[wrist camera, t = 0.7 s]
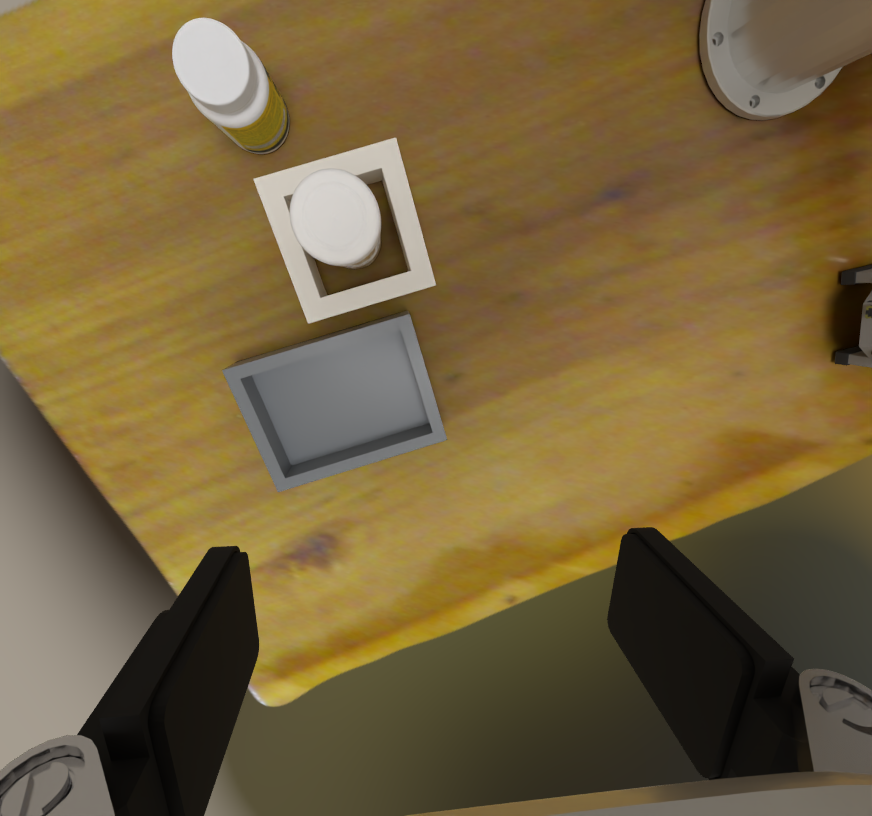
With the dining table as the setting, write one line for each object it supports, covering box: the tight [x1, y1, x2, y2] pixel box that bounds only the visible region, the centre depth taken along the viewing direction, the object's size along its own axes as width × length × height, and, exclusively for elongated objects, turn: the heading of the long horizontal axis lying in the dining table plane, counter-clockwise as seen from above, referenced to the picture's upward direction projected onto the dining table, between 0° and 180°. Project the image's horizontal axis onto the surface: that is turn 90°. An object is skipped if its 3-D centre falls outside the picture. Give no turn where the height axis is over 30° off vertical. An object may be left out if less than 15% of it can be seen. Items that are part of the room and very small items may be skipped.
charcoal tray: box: [222, 310, 447, 492], centre depth 36 cm, size 15×11×4 cm
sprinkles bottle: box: [290, 168, 381, 269], centre depth 27 cm, size 5×5×14 cm
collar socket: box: [254, 138, 436, 324], centre depth 32 cm, size 10×10×4 cm
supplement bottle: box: [172, 18, 289, 154], centre depth 27 cm, size 5×5×8 cm
